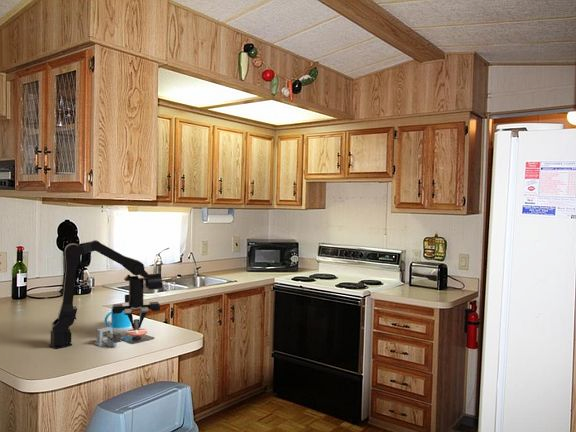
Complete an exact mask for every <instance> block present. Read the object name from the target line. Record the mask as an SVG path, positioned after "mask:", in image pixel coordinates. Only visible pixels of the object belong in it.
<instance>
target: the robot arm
mask: <svg viewBox="0 0 576 432" xmlns="http://www.w3.org/2000/svg"><path fill="white" fill-rule="evenodd" d="M64 247H65V248H64V258H65V259H64V260H65V274H64V275H65V277H64V283H63V284H64V285H63V293H62V302H61V304H60V308H59V312H58V313H57V314H58V315H57V318H56V319H54V321H53V322H51V328H52V330H50V343H49V344H48V347H51V348H53V349H56V350H58V349H62V348H65V347H70V346H73V343H72V332H71V329H70V327H71V326H72V325H74V322H75V320H77V317H76V316H77V312H78V308H77V305H75V306H74V294H75V284H76V274H77V267H78V264H79V262H80V259H81V256H82V255H86V254H90V253H92V252H97V253H99V254H101V255H102V256H104V257H106V258H108V259H110V260H111V261H114V262H115V263H117V264H119V265H120V266H122V267H123V268H124V269H126V270H127V271H129V273H131V275H130V274H127V275H126V276H125V277H124V278H123V280H124V281H125V282H127V281H128V294H125V295H124V303H128V305H123V303H117V304H116V303H115V304H113V305H112V306H111V307H112V308H111V309H112V313H113V314H119V313H122V312H123V311H124V314H125V315H127V316H128V318H129V320H130V326H131V327H132V328H131V329H134V318H133V313H132V311H138V310H139V312H140V313H139V318H138V319H139V329H141V328H142V324H143V321H144V319H145V317H146V315H147V314H149V313H150V312H149V310H151V312H158V311H161V304H160V303H159V302H158V301H149V303H148V304H144V288H146V290H147V291H153V290H162V289H163V283H164V282H163V279H162V274H161V272H156V273H149V272H147V271H146V270H145V264H143V262H141V261H140V260H138V259H135V258H132V257H128V256H126V255H123V254H122V253H120V252H117V251H116V250H114V249H113V248H111V247H109V246H106V245H105V244H104V243H101V242H100V241H98V240H97V239H96V240H95V239H93V240H91V241H87V242H81V243H74V242H73V243H69V244H67V245H66V246H64ZM139 276H141V277H139Z"/></svg>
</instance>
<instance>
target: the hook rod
mask: <svg viewBox="0 0 576 432" xmlns="http://www.w3.org/2000/svg"><path fill="white" fill-rule="evenodd" d="M103 337H106V338H107V337H108V338H111V339H113V342H114V343H116V344H117V343H121V342H122V340H121V338H122V334H121V333H120V332H115V333H114V332H113V334H112V333H109V332H107V331H105V332H103Z"/></svg>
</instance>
